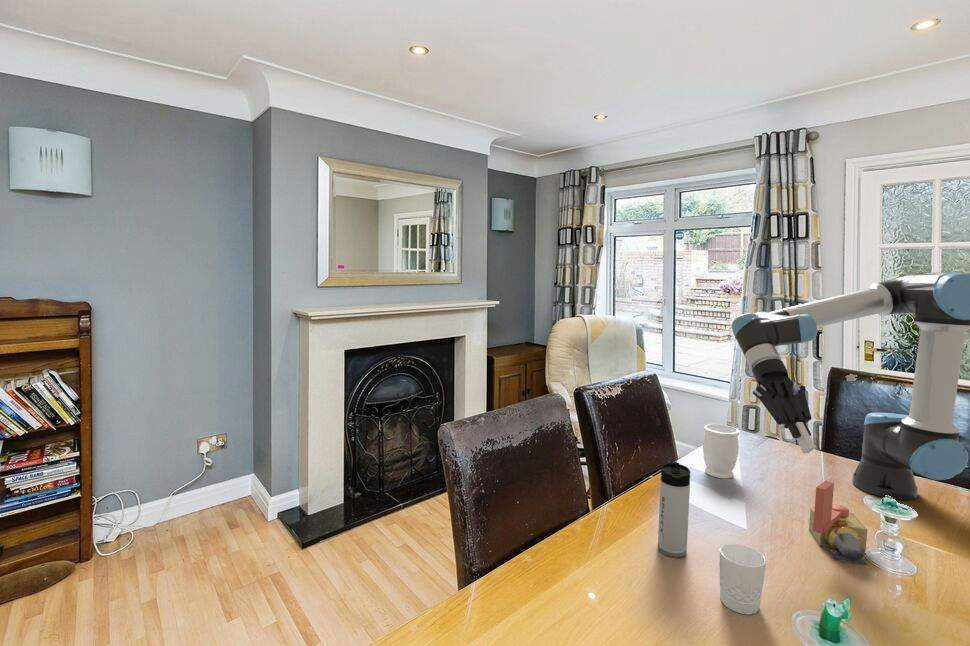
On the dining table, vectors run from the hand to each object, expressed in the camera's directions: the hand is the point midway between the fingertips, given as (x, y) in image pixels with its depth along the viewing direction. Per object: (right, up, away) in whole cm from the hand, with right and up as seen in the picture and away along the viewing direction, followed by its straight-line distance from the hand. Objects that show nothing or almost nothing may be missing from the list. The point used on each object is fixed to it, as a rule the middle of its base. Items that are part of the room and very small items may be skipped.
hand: (809, 450), depth 112 cm
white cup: (-25, -25, -17) cm, 40 cm away
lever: (+5, -17, +1) cm, 17 cm away
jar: (+1, -19, +45) cm, 49 cm away
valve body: (+10, -23, +5) cm, 26 cm away
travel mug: (-31, -24, +1) cm, 39 cm away
